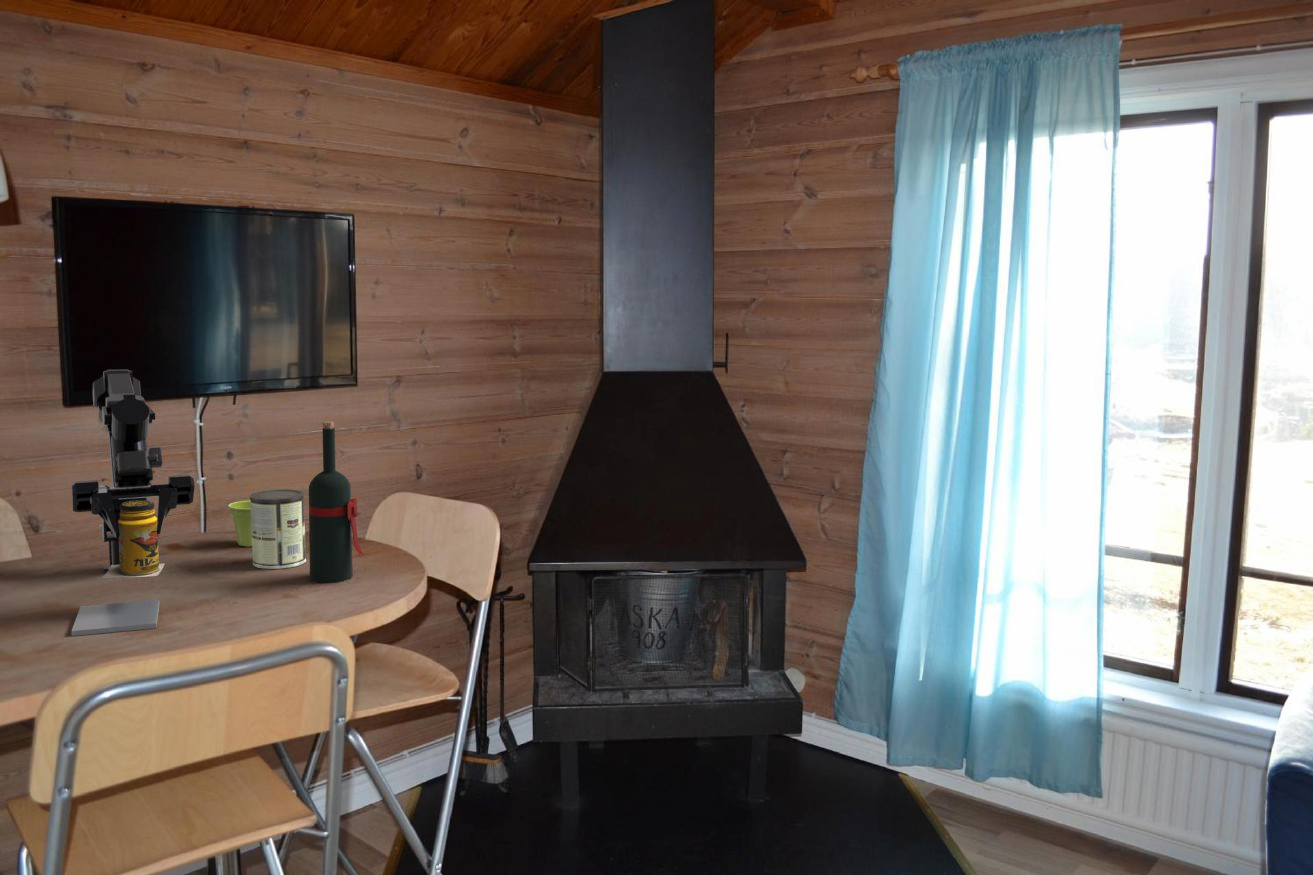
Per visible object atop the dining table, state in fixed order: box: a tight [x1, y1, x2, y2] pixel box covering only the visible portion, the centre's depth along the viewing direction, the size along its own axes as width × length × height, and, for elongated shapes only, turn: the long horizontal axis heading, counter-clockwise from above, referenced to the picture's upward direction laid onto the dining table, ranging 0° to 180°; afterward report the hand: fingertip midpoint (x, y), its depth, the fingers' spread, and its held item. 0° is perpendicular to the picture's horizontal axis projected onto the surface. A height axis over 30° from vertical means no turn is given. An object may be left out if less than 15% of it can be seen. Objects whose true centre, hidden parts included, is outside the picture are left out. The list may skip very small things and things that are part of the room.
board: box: [71, 599, 160, 637], centre depth 174 cm, size 14×12×1 cm
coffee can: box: [249, 488, 307, 570], centre depth 210 cm, size 10×10×14 cm
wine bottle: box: [308, 420, 365, 584], centre depth 199 cm, size 8×10×30 cm
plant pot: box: [227, 500, 252, 548], centre depth 225 cm, size 9×9×9 cm
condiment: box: [102, 499, 165, 579], centre depth 178 cm, size 7×8×12 cm
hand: (138, 534), depth 177 cm, fingers closed on condiment, 6 cm apart
